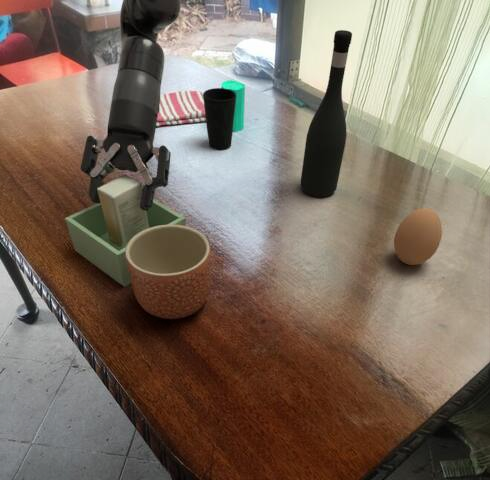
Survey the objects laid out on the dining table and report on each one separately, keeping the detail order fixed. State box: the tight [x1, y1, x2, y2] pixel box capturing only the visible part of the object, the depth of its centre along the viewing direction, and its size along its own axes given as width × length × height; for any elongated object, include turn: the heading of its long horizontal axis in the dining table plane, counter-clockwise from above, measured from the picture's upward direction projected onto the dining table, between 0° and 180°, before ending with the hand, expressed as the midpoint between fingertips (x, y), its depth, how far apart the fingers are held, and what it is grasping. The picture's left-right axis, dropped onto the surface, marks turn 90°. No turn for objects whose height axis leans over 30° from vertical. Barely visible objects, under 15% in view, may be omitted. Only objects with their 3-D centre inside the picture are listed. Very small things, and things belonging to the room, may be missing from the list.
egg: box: [393, 207, 443, 266], centre depth 79 cm, size 8×8×11 cm
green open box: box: [64, 198, 187, 288], centre depth 81 cm, size 15×15×7 cm
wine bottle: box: [300, 29, 353, 198], centre depth 89 cm, size 8×8×30 cm
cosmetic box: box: [97, 174, 149, 251], centre depth 78 cm, size 6×4×12 cm
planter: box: [125, 225, 212, 320], centre depth 70 cm, size 12×12×11 cm
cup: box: [202, 87, 236, 151], centre depth 109 cm, size 8×8×12 cm
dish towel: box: [156, 90, 206, 127], centre depth 124 cm, size 17×23×4 cm
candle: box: [221, 77, 246, 133], centre depth 116 cm, size 6×6×12 cm
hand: (119, 206), depth 75 cm, fingers open, 8 cm apart
